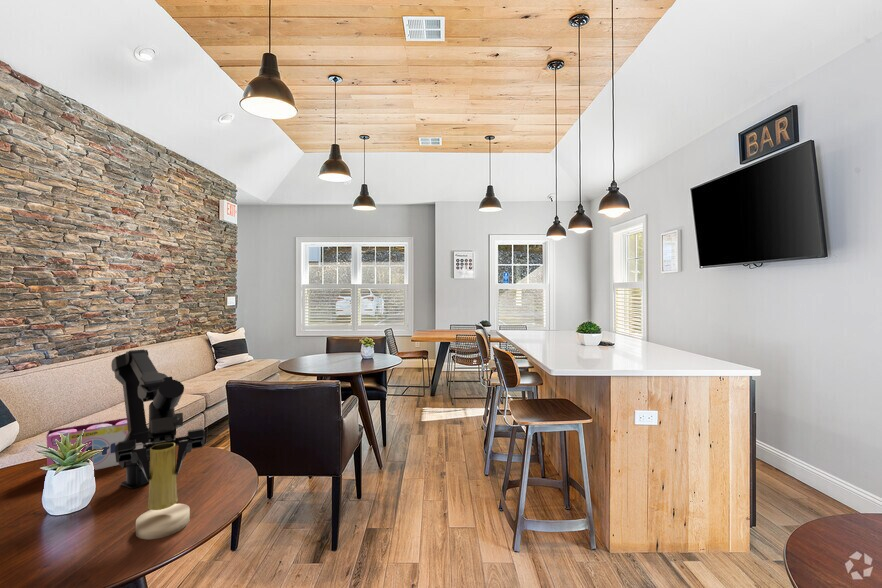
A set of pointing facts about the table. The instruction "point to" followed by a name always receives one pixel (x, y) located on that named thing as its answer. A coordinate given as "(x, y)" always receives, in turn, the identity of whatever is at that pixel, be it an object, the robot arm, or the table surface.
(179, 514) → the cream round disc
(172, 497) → the vase
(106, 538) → the table surface
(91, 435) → the gum box
